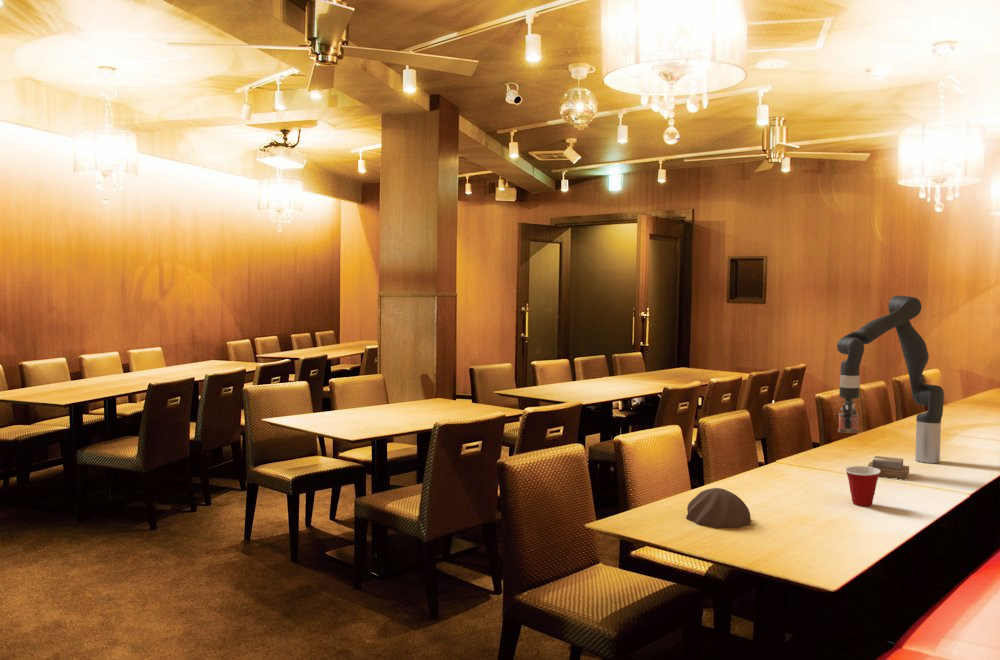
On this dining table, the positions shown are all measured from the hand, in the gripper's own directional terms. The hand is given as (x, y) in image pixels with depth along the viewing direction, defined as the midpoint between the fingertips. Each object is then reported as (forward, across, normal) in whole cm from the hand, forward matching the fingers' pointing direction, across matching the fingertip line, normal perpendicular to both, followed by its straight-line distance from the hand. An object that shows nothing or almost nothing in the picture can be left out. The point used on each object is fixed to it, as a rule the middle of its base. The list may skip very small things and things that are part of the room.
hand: (848, 427), depth 305 cm
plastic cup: (+17, -59, -12) cm, 63 cm away
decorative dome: (+16, -105, +22) cm, 108 cm away
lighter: (+2, 0, 0) cm, 2 cm away
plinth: (+17, -3, -15) cm, 23 cm away
